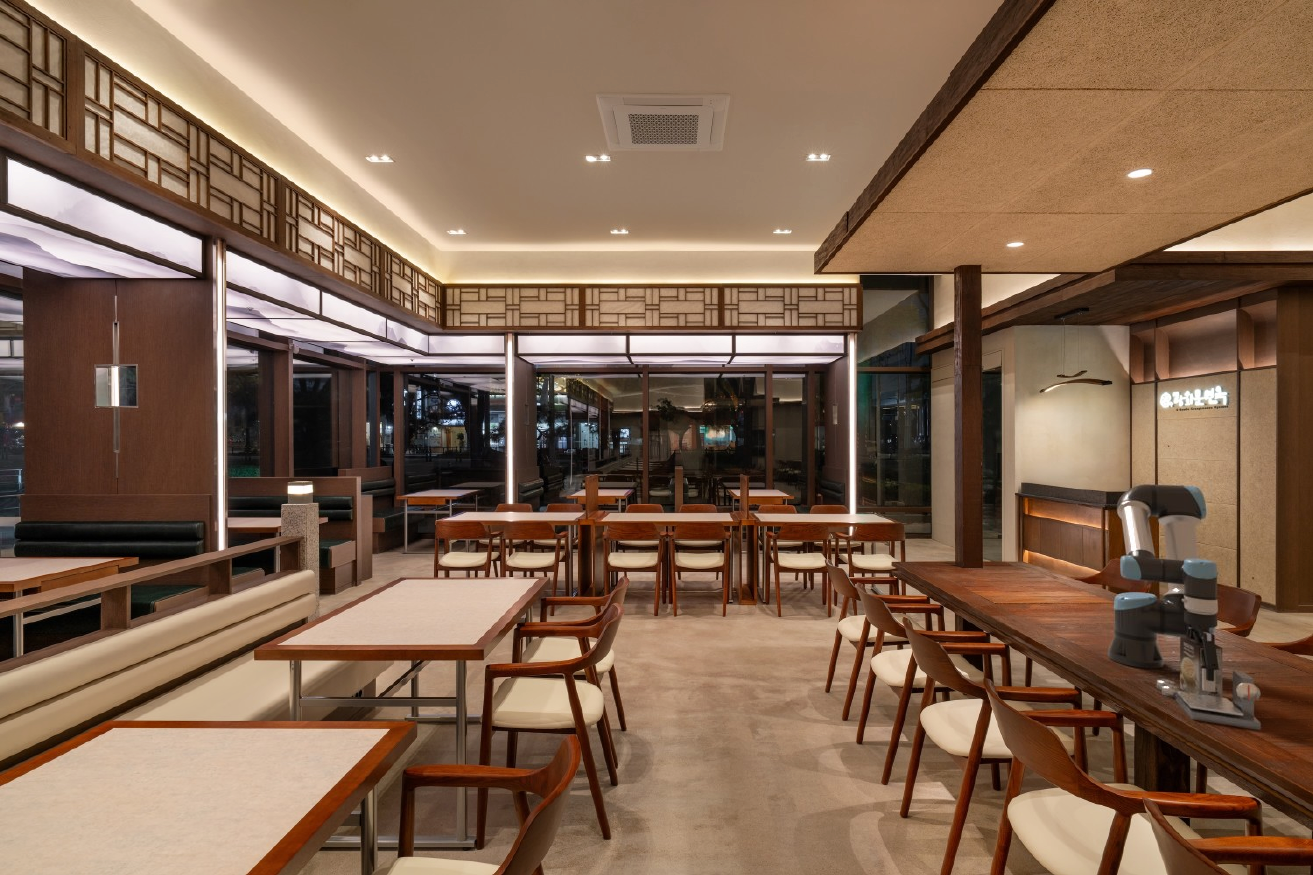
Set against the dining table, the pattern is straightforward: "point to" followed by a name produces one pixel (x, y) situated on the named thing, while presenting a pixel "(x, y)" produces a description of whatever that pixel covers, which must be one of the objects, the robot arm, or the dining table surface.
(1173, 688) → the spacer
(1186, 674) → the coffee box
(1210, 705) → the scale
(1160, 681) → the cylinder
